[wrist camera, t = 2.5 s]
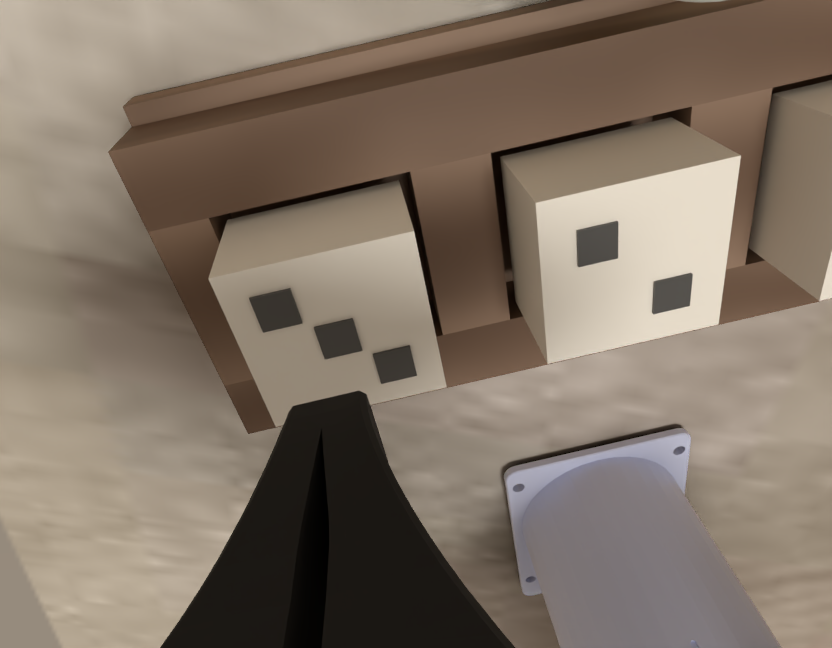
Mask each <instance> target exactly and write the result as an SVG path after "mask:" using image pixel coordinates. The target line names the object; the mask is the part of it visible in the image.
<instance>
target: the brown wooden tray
mask: <svg viewBox="0 0 832 648" xmlns="http://www.w3.org/2000/svg"><path fill="white" fill-rule="evenodd" d="M830 80H832V0H726V1H721V2H701V3H700V2H683V1H677V0H552V1H548V2H543V3H539V4H535V5H530V6H526V7H522V8H517V9H513V10H509V11H504V12H500V13H496V14H491V15H487V16H483V17H478V18H474V19H470V20H465V21H461V22H457V23H452V24H448V25H444V26H439V27H435V28H431V29H426V30H422V31H418V32H413V33H409V34H405V35H400V36H396V37H392V38H387V39H383V40H379V41H374V42H370V43H366V44H361V45H357V46H353V47H348V48H344V49H340V50H335V51H331V52H327V53H322V54H318V55H314V56H309V57H305V58H301V59H296V60H292V61H288V62H283V63H279V64H275V65H270V66H266V67H262V68H257V69H253V70H249V71H244V72H240V73H236V74H231V75H227V76H223V77H218V78H214V79H210V80H205V81H201V82H197V83H192V84H188V85H184V86H179V87H175V88H171V89H166V90H162V91H157V92H153V93H149V94H144V95H140V96H136V97H133V98H132V99H131V100H130V101H129V102H127V103H126V104H125V105H124V106H123V108H124V111H125V113H126V115H127V117H128V119H129V121H130V124H131V126H132V128H131V129H130V130H129V131H128V132H127V133H126V134H125V135H124V136H123V137H122V138H121V139H120V140H119V141H118V142H117V143H116V144H115V145H114V146H113V148H112V149H111V150H110V151H109V152H108V153H109V155H110V157H111V159H112V161H113V163H114V165H115V167H116V169H117V171H118V173H119V175H120V177H121V179H122V181H123V183H124V185H125V187H126V189H127V191H128V193H129V195H130V197H131V199H132V201H133V203H134V205H135V207H136V209H137V211H138V213H139V215H140V217H141V219H142V221H143V223H144V225H145V227H146V229H147V231H148V233H149V235H150V237H151V239H152V241H153V243H154V245H155V247H156V249H157V251H158V253H159V255H160V257H161V259H162V261H163V263H164V265H165V267H166V269H167V271H168V273H169V275H170V277H171V279H172V281H173V283H174V285H175V287H176V289H177V291H178V293H179V296H180V298H181V300H182V302H183V304H184V306H185V308H186V310H187V312H188V314H189V316H190V318H191V320H192V322H193V324H194V326H195V328H196V330H197V332H198V334H199V336H200V338H201V340H202V342H203V344H204V346H205V348H206V350H207V352H208V354H209V356H210V358H211V360H212V362H213V364H214V366H215V368H216V370H217V372H218V374H219V376H220V378H221V380H222V382H223V384H224V386H225V388H226V390H227V392H228V394H229V396H230V398H231V400H232V402H233V404H234V406H235V408H236V410H237V412H238V414H239V416H240V418H241V420H242V422H243V424H244V426H245V428H246V430H247V432H248V434H250V433H254V432H258V431H263V430H267V429H271V428H276V426H275V424H274V422H273V420H272V418H271V415H270V413H269V411H268V409H267V407H266V404H265V402H264V400H263V398H262V396H261V393H260V391H259V389H258V387H257V385H256V382H255V380H254V378H253V376H252V374H251V372H250V369H249V367H248V365H247V363H246V361H245V358H244V356H243V354H242V352H241V350H240V347H239V345H238V343H237V341H236V339H235V336H234V334H233V332H232V330H231V328H230V325H229V323H228V321H227V319H226V317H225V314H224V312H223V310H222V308H221V306H220V303H219V301H218V299H217V297H216V295H215V292H214V290H213V288H212V286H211V284H210V281H209V279H208V278H209V275H210V272H211V269H212V266H213V262H214V259H215V256H216V253H217V250H218V247H219V244H220V241H221V238H222V235H223V232H224V229H225V226H226V223H227V220H229V219H233V218H237V217H242V216H246V215H250V214H255V213H259V212H263V211H268V210H272V209H276V208H281V207H285V206H289V205H294V204H298V203H302V202H307V201H311V200H315V199H320V198H324V197H328V196H333V195H337V194H341V193H345V192H350V191H354V190H358V189H363V188H367V187H371V186H376V185H380V184H384V183H389V182H393V181H397V180H399V182H400V186H401V189H402V192H403V196H404V199H405V202H406V206H407V209H408V212H409V216H410V219H411V222H412V226H413V229H414V233H415V238H416V243H417V247H418V252H419V257H420V262H421V267H422V271H423V276H424V281H425V286H426V290H427V295H428V300H429V305H430V310H431V314H432V319H433V324H434V329H435V333H436V338H437V343H438V348H439V353H440V357H441V362H442V367H443V372H444V376H445V381H446V386H447V387H446V388H448V387H452V386H457V385H461V384H465V383H470V382H474V381H478V380H483V379H487V378H491V377H496V376H500V375H504V374H508V373H513V372H517V371H521V370H526V369H530V368H534V367H539V366H543V365H547V364H548V363H547V362H546V360H545V358H544V356H543V354H542V352H541V350H540V348H539V346H538V344H537V342H536V340H535V338H534V336H533V334H532V332H531V330H530V328H529V327H528V325H527V323H526V321H525V319H524V317H523V315H522V313H521V311H520V309H519V307H518V305H517V303H516V300H515V291H514V282H513V272H512V263H511V254H510V244H509V235H508V226H507V217H506V207H505V198H504V189H503V179H502V170H501V161H500V157H501V156H506V155H510V154H514V153H519V152H523V151H527V150H531V149H536V148H540V147H544V146H549V145H553V144H557V143H562V142H566V141H570V140H575V139H579V138H583V137H588V136H592V135H596V134H601V133H605V132H609V131H614V130H618V129H622V128H627V127H631V126H635V125H640V124H644V123H648V122H653V121H657V120H661V119H666V118H670V117H672V118H674V119H675V120H677V121H679V122H681V123H683V124H685V125H686V126H688V127H690V128H692V129H694V130H696V131H697V132H699V133H701V134H703V135H705V136H706V137H708V138H710V139H712V140H714V141H716V142H717V143H719V144H721V145H723V146H725V147H727V148H728V149H730V150H732V151H734V152H736V153H737V154H739V155H741V159H740V167H739V174H738V182H737V189H736V197H735V204H734V212H733V219H732V227H731V234H730V242H729V249H728V257H727V264H726V272H725V279H724V287H723V294H722V302H721V309H720V317H719V324H718V325H720V324H724V323H728V322H733V321H737V320H741V319H746V318H750V317H754V316H759V315H763V314H767V313H772V312H776V311H780V310H784V309H789V308H793V307H797V306H802V305H806V304H810V303H815V302H819V300H817V299H816V298H815V297H813V296H812V295H811V294H809V293H808V292H807V291H805V290H804V289H803V288H801V287H800V286H799V285H797V284H796V283H795V282H793V281H792V280H791V279H789V278H788V277H787V276H785V275H784V274H783V273H781V272H780V271H779V270H778V269H776V268H775V267H774V266H772V265H771V264H770V263H768V262H767V261H766V260H764V259H763V258H762V257H760V256H759V255H758V254H756V253H755V252H754V251H752V250H751V249H750V248H748V247H749V241H750V234H751V228H752V221H753V215H754V209H755V202H756V196H757V189H758V183H759V176H760V170H761V163H762V157H763V150H764V144H765V138H766V131H767V125H768V118H769V112H770V105H771V99H772V94H774V93H778V92H782V91H787V90H791V89H795V88H800V87H804V86H808V85H813V84H817V83H821V82H826V81H830ZM830 299H832V298H830ZM826 300H828V299H826ZM822 301H823V300H822ZM714 326H715V325H714ZM709 327H711V326H709ZM705 328H707V327H705ZM701 329H703V328H701ZM697 330H698V329H697ZM692 331H694V330H692ZM688 332H690V331H688ZM684 333H685V332H684ZM679 334H681V333H679ZM675 335H677V334H675ZM671 336H672V335H671ZM666 337H668V336H666ZM662 338H664V337H662ZM658 339H659V338H658ZM653 340H655V339H653ZM649 341H651V340H649ZM645 342H646V341H645ZM640 343H642V342H640ZM636 344H638V343H636ZM632 345H634V344H632ZM628 346H629V345H628ZM623 347H625V346H623ZM619 348H621V347H619ZM615 349H616V348H615ZM610 350H612V349H610ZM606 351H608V350H606ZM602 352H603V351H602ZM597 353H599V352H597ZM593 354H595V353H593ZM589 355H590V354H589ZM584 356H586V355H584ZM580 357H582V356H580ZM576 358H577V357H576ZM571 359H573V358H571ZM567 360H569V359H567ZM563 361H565V360H563ZM558 362H560V361H558ZM554 363H556V362H554ZM550 364H552V363H550ZM442 389H444V388H442ZM438 390H439V389H438ZM433 391H435V390H433ZM429 392H431V391H429ZM425 393H427V392H425ZM420 394H422V393H420ZM416 395H418V394H416ZM412 396H414V395H412ZM408 397H409V396H408ZM403 398H405V397H403ZM399 399H401V398H399ZM395 400H396V399H395ZM390 401H392V400H390ZM386 402H388V401H386ZM382 403H383V402H382ZM377 404H379V403H377ZM373 405H375V404H373ZM282 426H283V425H282ZM278 427H280V426H278Z"/></svg>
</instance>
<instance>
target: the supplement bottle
mask: <svg viewBox="0 0 832 648" xmlns="http://www.w3.org/2000/svg"><path fill="white" fill-rule="evenodd" d="M677 1H683V2H700V3H701V2H721V1H726V0H677Z"/></svg>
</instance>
